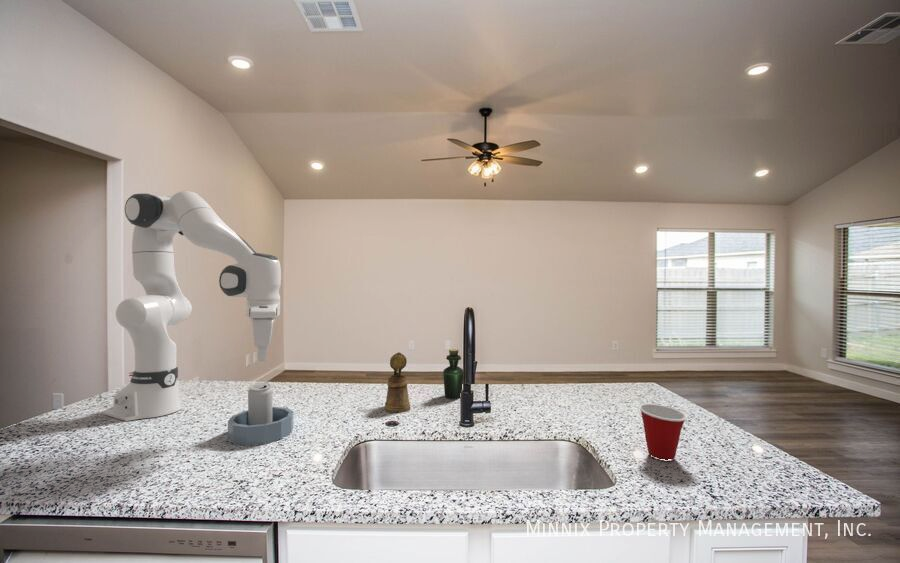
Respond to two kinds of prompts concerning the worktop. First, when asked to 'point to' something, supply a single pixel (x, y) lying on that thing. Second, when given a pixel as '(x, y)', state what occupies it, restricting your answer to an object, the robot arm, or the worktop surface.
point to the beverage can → (260, 404)
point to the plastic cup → (662, 429)
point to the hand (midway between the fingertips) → (262, 357)
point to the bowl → (260, 428)
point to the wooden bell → (397, 386)
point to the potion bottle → (453, 376)
